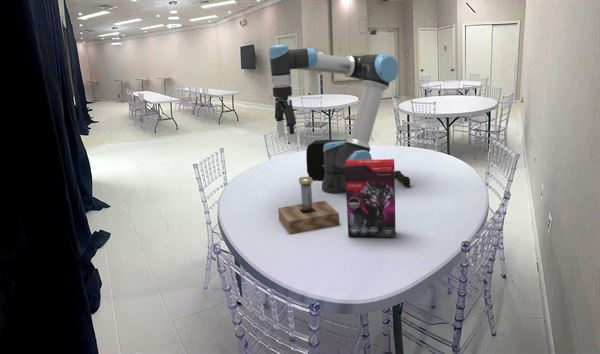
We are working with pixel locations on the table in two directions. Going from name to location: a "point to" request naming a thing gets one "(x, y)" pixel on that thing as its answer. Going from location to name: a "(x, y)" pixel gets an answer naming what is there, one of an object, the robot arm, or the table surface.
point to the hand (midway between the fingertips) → (286, 139)
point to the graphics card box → (370, 198)
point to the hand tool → (402, 178)
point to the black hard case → (316, 159)
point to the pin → (306, 194)
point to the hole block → (308, 217)
